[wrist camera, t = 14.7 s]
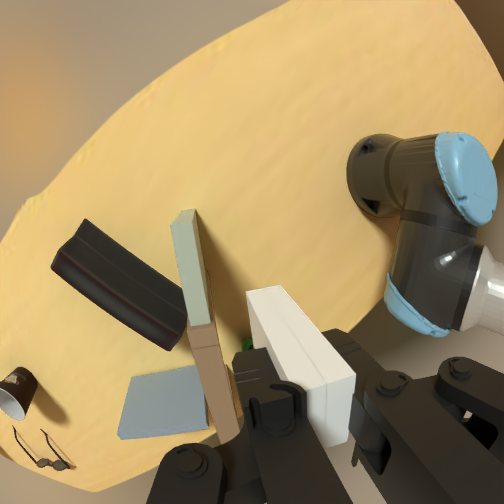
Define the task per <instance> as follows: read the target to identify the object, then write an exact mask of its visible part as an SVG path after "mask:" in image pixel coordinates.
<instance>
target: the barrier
mask: <svg viewBox="0 0 504 504" xmlns="http://www.w3.org/2000/svg"><path fill="white" fill-rule="evenodd" d="M51 270H53V271H54V272H55V273H56V274H57V275H59V276H60V277H61V278H62V279H63V280H65V281H66V282H67V283H68V284H70V285H71V286H72V287H74V288H75V289H76V290H77V291H79V292H80V293H81V294H83V295H84V296H85V297H87V298H88V299H89V300H91V301H92V302H93V303H95V304H96V305H97V306H99V307H100V308H102V309H103V310H104V311H106V312H107V313H109V314H110V315H111V316H113V317H114V318H116V319H117V320H119V321H120V322H122V323H123V324H125V325H126V326H128V327H129V328H131V329H132V330H134V331H135V332H137V333H139V334H140V335H142V336H143V337H145V338H146V339H148V340H150V341H151V342H153V343H155V344H156V345H158V346H160V347H161V348H163V349H165V350H166V351H171V350H172V348H173V347H174V346H175V344H176V343H177V342H178V341H179V339H180V338H181V336H182V334H183V331H184V329H185V326H186V324H187V317H188V312H187V308H186V303H185V299H184V294H183V290H182V288H180V287H179V286H178V285H176V284H175V283H173V282H172V281H170V280H169V279H167V278H166V277H164V276H163V275H161V274H160V273H159V272H157V271H156V270H154V269H153V268H151V267H150V266H149V265H147V264H146V263H144V262H143V261H142V260H140V259H139V258H137V257H136V256H135V255H133V254H132V253H131V252H129V251H128V250H126V249H125V248H124V247H122V246H121V245H120V244H118V243H117V242H116V241H114V240H113V239H112V238H110V237H109V236H108V235H106V234H105V233H104V232H103V231H101V230H100V229H99V228H97V227H96V226H95V225H94V224H92V223H91V222H90V221H88V220H87V219H84V220H83V222H82V223H81V225H80V227H79V228H78V230H77V231H76V233H75V235H74V236H73V237H72V238H71V239H69V240H68V241H67V242H66V243H65V244H64V245H63V246H62V247H61V248H60V249H59V250H58V252H57V254H56V256H55V258H54V260H53V262H52V264H51Z"/></svg>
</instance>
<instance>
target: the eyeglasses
mask: <svg viewBox="0 0 504 504" xmlns="http://www.w3.org/2000/svg"><path fill="white" fill-rule="evenodd" d="M12 426H13V425H12ZM13 428H14V426H13ZM40 430H41V431H42V432H43V433H44V434H45V436H46V440H47V443H48V445H49V446H50V448H51V449H52V450H53V452H54V453H55V454H56V455H57V456H58V458H59V459H60V460H56V461H55V462H54V463H53V464H52V465H50V464H49V459H43V458H42V459H40V460H39V461H38V462H36V460H35V459H34V458H33V457H32V456H31V455H30V454H29V453H28V452H27V451H26V449H25V448H24V447H23V446H22V445H21V444H20V442H19V441H18V439H17V436H16V430H15V428H14V434H15V438H16V440H17V442H18V443H19V445H20V446H21V447H22V448H23V450H24V451H25V452H26V453H27V454H28V455H29V457H30V458H31V459H32V460H33V461H34V462H35V463H36V464H37V466H38V467H39V468H43V467H45V466H47V465H48V466H53V468H54V469H55V470H57V471H62V470H64V469H66V468H67V469H70V467H69V465H68V464H67V462H66V461H64V460H63V459H62V458H61V457H60V456H59V455H58V454H57V452H56V451H55V450H54V449H53V448H52V446H51V445H50V443H49V441H48V437H47V434H46V433H45V432H44V431H43V430H42V429H40Z"/></svg>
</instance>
